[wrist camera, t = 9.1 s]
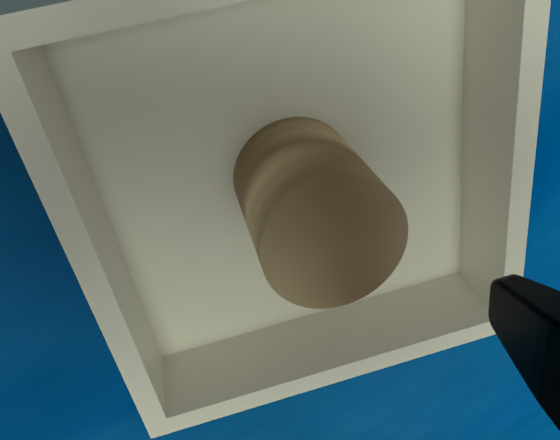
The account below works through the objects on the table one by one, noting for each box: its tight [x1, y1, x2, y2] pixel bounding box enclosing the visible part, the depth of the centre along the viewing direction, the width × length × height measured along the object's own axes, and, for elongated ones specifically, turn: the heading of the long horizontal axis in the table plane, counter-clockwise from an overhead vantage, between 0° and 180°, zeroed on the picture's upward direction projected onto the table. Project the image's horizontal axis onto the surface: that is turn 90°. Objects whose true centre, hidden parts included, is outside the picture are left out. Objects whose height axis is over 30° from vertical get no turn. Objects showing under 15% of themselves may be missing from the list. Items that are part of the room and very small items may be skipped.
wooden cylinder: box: [233, 117, 408, 309], centre depth 17 cm, size 4×4×5 cm
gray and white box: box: [0, 0, 551, 439], centre depth 18 cm, size 15×15×4 cm
